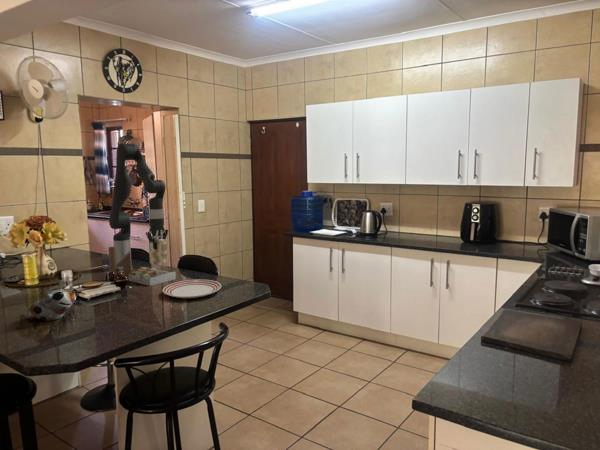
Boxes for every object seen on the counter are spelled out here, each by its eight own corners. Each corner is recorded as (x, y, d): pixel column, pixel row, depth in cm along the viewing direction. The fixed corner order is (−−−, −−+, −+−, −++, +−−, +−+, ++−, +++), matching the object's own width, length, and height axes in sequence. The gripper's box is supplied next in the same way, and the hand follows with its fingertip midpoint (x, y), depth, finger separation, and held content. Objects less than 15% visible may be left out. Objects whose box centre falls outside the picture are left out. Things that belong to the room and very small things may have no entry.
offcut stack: (132, 280, 236) (132, 269, 235) (143, 278, 242) (143, 266, 241) (149, 284, 228) (148, 272, 227) (160, 281, 234) (159, 270, 233)
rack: (128, 280, 237) (128, 273, 236) (154, 274, 250) (154, 267, 250) (150, 285, 226) (149, 278, 226) (175, 279, 240) (175, 271, 239)
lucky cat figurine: (57, 309, 190) (71, 281, 189) (71, 324, 184) (86, 296, 183) (22, 308, 177) (37, 278, 176) (36, 325, 171) (52, 295, 170)
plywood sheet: (149, 263, 243) (148, 238, 241) (153, 262, 245) (152, 237, 243) (163, 266, 236) (162, 240, 235) (167, 265, 239) (166, 239, 237)
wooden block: (131, 278, 242) (130, 245, 239) (110, 281, 236) (108, 247, 234) (130, 276, 245) (128, 244, 242) (109, 279, 239) (107, 246, 237)
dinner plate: (207, 303, 197) (207, 296, 197) (151, 300, 203) (151, 293, 202) (229, 287, 224) (229, 280, 224) (179, 284, 229) (179, 278, 229)
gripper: (162, 215, 245) (164, 246, 247) (141, 218, 234) (142, 250, 236) (171, 216, 241) (172, 247, 243) (149, 219, 230) (151, 251, 232)
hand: (157, 248), depth 240 cm, fingers closed on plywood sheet, 2 cm apart
